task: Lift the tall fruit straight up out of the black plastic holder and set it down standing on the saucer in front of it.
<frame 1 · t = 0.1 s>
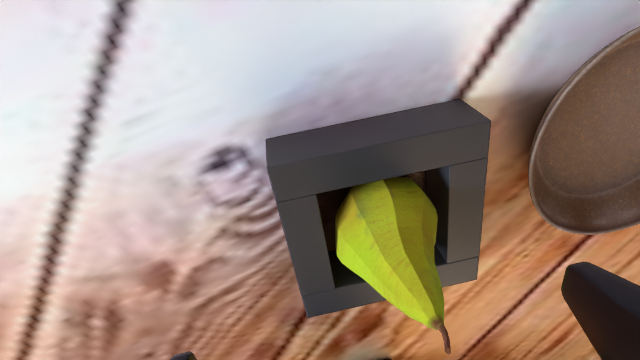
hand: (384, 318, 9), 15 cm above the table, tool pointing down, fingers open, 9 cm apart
fruit: (371, 198, 25), resting in holder
saucer: (610, 121, 25), on the table
holder: (372, 199, 25), on the table
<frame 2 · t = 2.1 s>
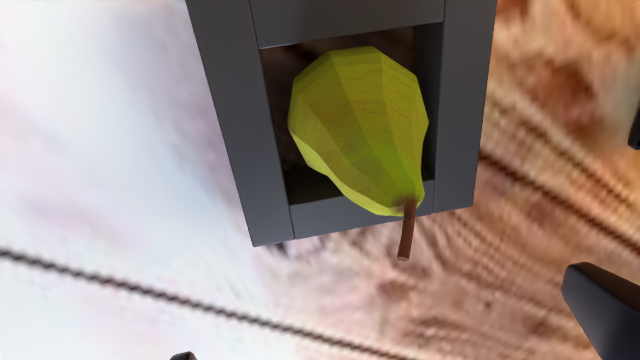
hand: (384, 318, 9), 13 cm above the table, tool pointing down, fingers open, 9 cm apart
fruit: (342, 96, 20), resting in holder
holder: (342, 97, 20), on the table
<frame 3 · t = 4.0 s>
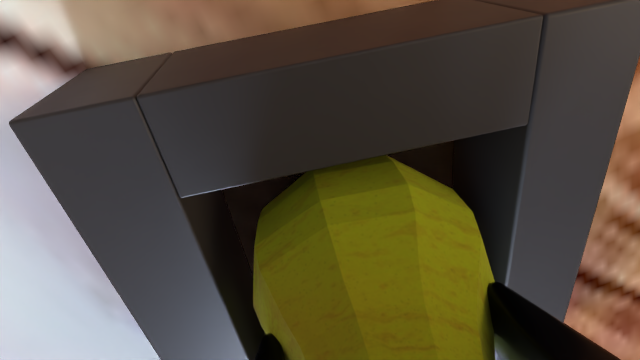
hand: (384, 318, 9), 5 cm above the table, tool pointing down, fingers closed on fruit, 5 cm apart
fruit: (344, 204, 13), resting in holder, touching gripper
holder: (345, 208, 13), on the table
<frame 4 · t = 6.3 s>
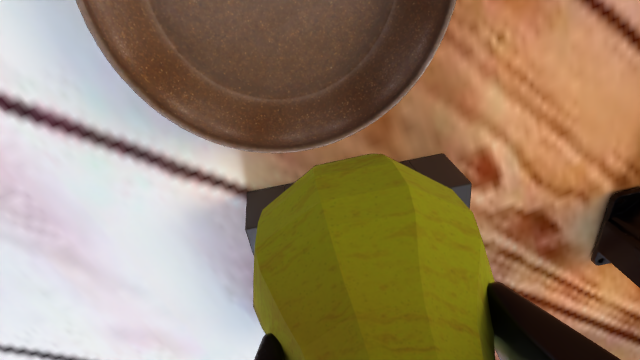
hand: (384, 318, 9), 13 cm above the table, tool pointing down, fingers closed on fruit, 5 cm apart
fruit: (344, 205, 13), point 8 cm above the table, touching gripper
holder: (356, 247, 25), on the table
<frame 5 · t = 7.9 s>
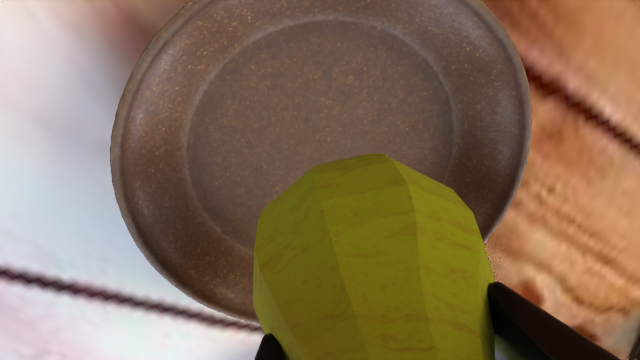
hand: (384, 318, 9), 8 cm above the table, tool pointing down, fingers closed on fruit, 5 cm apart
fruit: (344, 205, 13), point 3 cm above the table, touching gripper
saucer: (324, 154, 16), on the table
when the fingers open (7 cm above the table, at t = 8.6 s): fruit stays where it is, resting on saucer.
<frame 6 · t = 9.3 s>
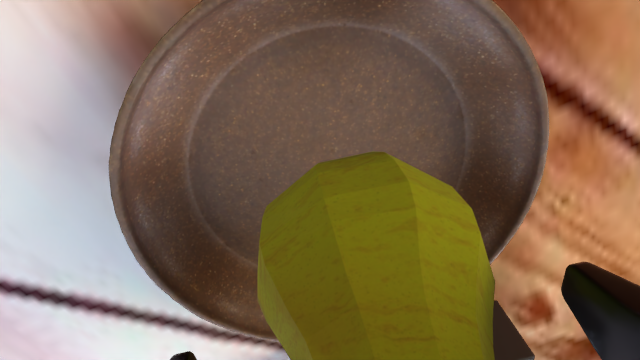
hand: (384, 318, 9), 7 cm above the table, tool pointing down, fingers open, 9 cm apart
fruit: (346, 203, 13), point 3 cm above the table, touching saucer
saucer: (331, 164, 15), on the table, touching fruit
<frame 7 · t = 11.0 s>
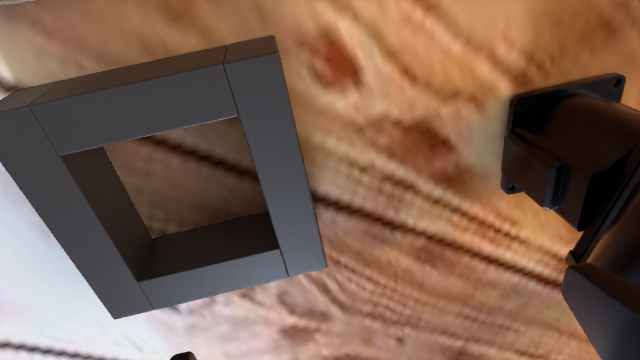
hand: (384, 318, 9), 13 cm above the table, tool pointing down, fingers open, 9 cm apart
holder: (192, 170, 20), on the table
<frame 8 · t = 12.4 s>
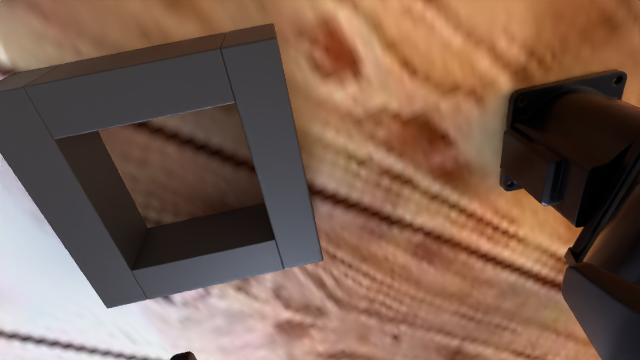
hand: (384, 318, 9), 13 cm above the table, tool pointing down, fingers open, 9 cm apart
holder: (189, 160, 20), on the table
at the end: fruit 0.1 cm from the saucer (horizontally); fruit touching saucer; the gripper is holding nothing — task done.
